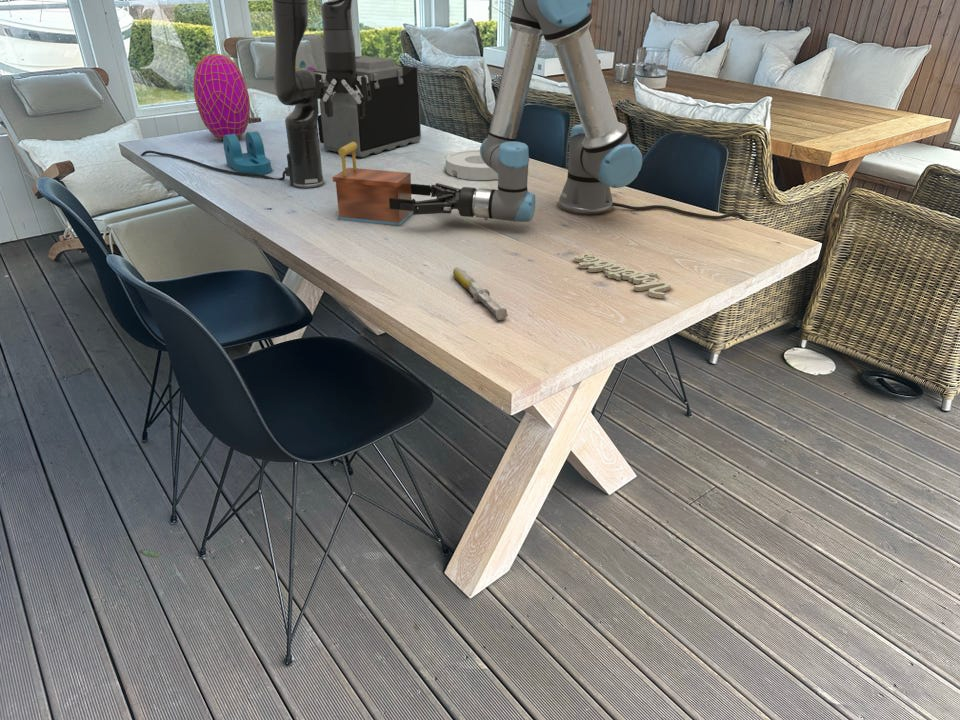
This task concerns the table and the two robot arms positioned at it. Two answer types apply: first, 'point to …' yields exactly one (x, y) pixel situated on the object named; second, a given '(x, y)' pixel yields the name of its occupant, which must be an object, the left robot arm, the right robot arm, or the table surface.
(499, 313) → the syringe
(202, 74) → the decorative egg
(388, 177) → the lid
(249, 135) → the camera mount
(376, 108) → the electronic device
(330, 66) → the left robot arm
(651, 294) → the decorative sign
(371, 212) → the chest
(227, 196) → the table surface
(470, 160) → the ashtray
